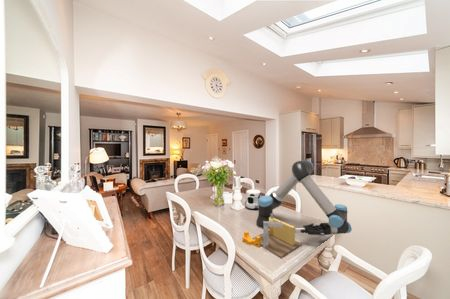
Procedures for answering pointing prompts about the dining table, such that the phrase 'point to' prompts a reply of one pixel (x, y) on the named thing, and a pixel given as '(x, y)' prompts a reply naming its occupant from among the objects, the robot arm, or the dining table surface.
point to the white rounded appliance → (252, 198)
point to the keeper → (265, 230)
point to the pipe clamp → (251, 240)
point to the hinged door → (282, 231)
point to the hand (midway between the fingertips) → (295, 230)
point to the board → (278, 246)
